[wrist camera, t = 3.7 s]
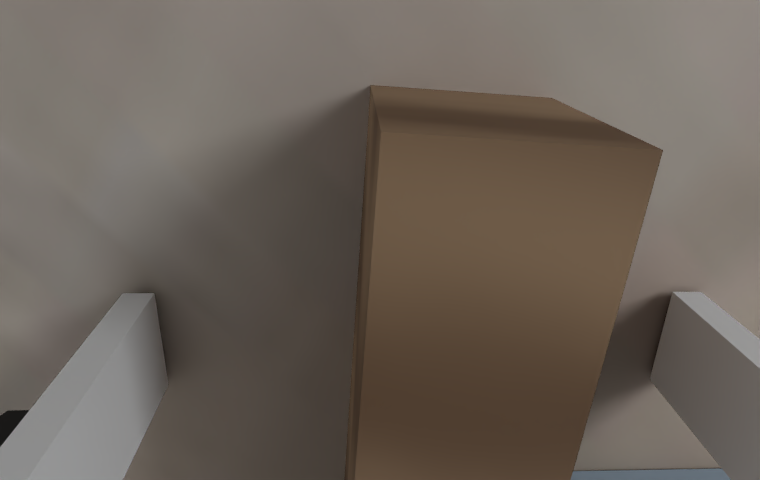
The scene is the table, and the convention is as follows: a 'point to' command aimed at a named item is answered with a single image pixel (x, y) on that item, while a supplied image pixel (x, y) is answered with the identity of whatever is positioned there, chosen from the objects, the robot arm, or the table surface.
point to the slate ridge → (652, 474)
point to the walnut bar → (487, 282)
